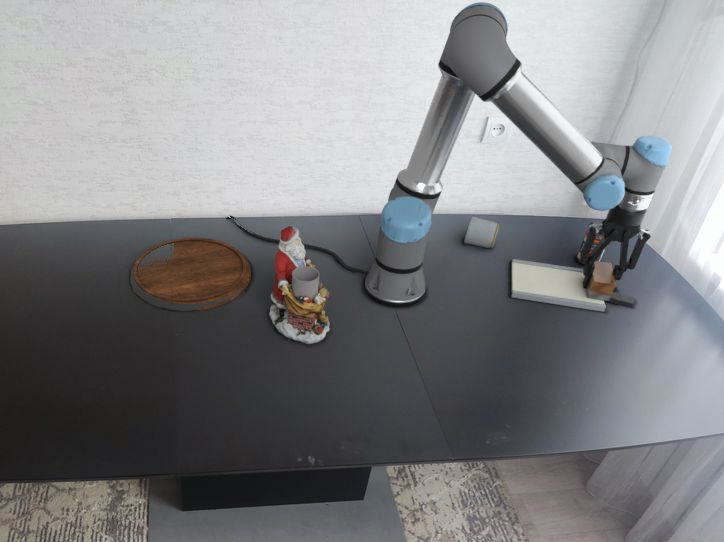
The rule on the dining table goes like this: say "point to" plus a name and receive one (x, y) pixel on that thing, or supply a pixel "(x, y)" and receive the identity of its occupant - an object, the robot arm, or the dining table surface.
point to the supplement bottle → (596, 241)
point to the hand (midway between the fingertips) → (596, 287)
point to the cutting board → (195, 272)
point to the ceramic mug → (481, 232)
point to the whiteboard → (551, 285)
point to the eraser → (601, 282)
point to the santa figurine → (297, 292)
